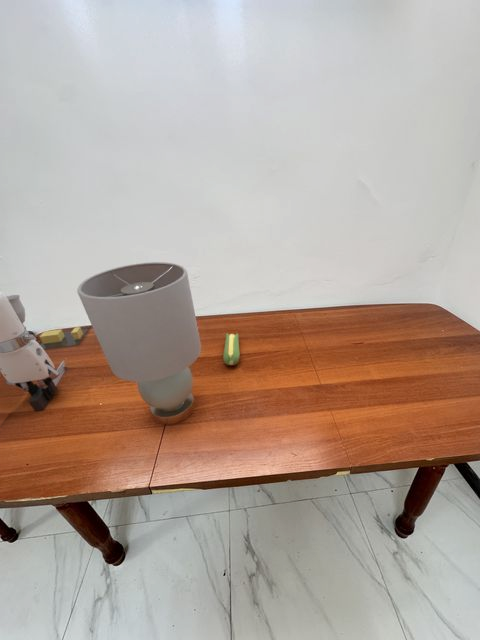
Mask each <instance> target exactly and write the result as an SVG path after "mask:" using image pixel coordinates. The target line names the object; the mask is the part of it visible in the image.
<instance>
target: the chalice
mask: <svg viewBox="0 0 480 640" xmlns="http://www.w3.org/2000/svg"><path fill="white" fill-rule="evenodd" d="M5 296H6V297H7V299H8V300H9V302H10V304H11V306H12V307H13V309H14V311H15V313H16V314H17V316H18V318H19V320H20V321H21V323H22V325H23V327H24V328H25V330H26V331H27V333H28V334H30V331H29V330H27V326H25V325H24V323H25V322H26V309H25V307H24V305H23V303H22V301H21V299H20V295H19V294H10V295H5ZM34 340H35V341H36V342H37V337H36V336H34Z"/></svg>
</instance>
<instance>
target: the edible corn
mask: <svg viewBox="0 0 480 640" xmlns="http://www.w3.org/2000/svg"><path fill="white" fill-rule="evenodd" d="M224 341H225V342H224V348H223V357H222V358H223V359H222V360H223V363H224V364H225V365H226V366H236V365H238V364H239V360H240V357H241V356H240V355H241V353H240V342H239V341H240V340H239V333H236V334H234V333H230V334H229V333H228V332H226V333H225V340H224Z"/></svg>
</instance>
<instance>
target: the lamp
mask: <svg viewBox="0 0 480 640" xmlns="http://www.w3.org/2000/svg"><path fill="white" fill-rule="evenodd" d="M76 289H77V291H76V292H77V295H78V297H79V300H80V301H81V304H82V306H83V309H84V311H85V313H86V316H87V317H88V320H89V322H90V325H91V327H92V330H93V332H94V334H95V336H96V338H97V341H98V343H99V345H100V348H101V349H102V353H103V355H104V357H105V360H106V362H107V364H108V367H109V369H110V371H111V372H112V374H113V375H114V376H115V377H117V378H118V379H121V380H123V381H126V382H133V383H136V386H137V391H138V394H139V397H140V398H141V399H142V400H143V402H145V403H146V404H147V405H149V410H150V413H151V416H152V418H153V420H154V421H155V422H156V423H158V424H159V425H164V426H165V425H167V426H171V425H176V424H179V423H181V422H184V421H185V420H187V419H188V418H189V417H191V415H192V414H193V413H194V411H195V408H196V401H195V397H194V395H193V394H194V393H192V391H193V388H194V376H193V372H192V370H191V368H190V367H191V365H192V364H194V363H195V362H196V361H197V360H198V358H199V357H200V355H201V352H202V343H201V338H200V333H199V327H198V323H197V317H196V312H195V306H194V301H193V296H192V291H191V285H190V281H189V274H188V271H187V269H186V268H185V267H184V266H183V265H181V264H177V263H173V262H164V261H163V262H161V261H160V262H159V261H158V262H157V261H156V262H152V261H151V262H142V263H141V262H140V263H133V264H127V265H122V266H117V267H114V268H110V269H106V270H104V271H101V272H99V273H95V274H93V275H92V276H89V277H87V278H86V279H84V280H83V281H81V283H79V285H78V287H77V288H76Z"/></svg>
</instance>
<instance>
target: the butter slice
mask: <svg viewBox="0 0 480 640" xmlns="http://www.w3.org/2000/svg"><path fill="white" fill-rule="evenodd" d="M71 331H72V332H71V334H72V336H73V338H74V340H76V339H80V338H81V337H82V335H83V332H82V327H81V326H76V327H74V328H73V329H72V330H71ZM82 338H83V337H82Z"/></svg>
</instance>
